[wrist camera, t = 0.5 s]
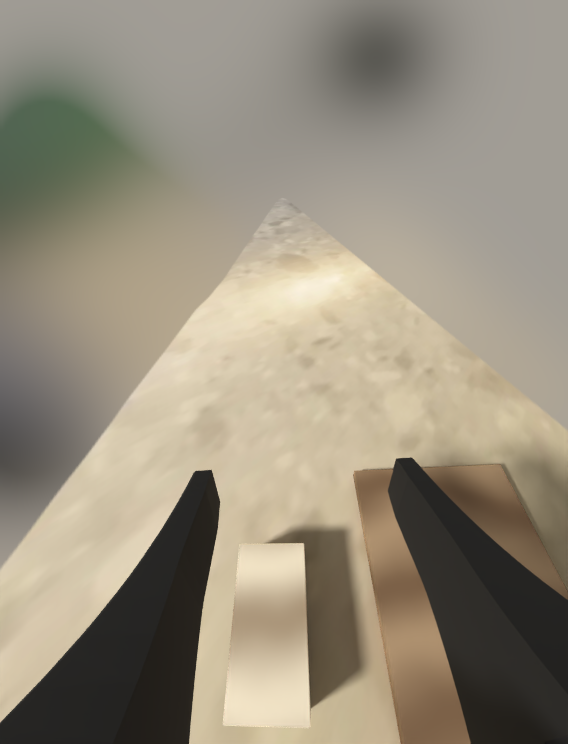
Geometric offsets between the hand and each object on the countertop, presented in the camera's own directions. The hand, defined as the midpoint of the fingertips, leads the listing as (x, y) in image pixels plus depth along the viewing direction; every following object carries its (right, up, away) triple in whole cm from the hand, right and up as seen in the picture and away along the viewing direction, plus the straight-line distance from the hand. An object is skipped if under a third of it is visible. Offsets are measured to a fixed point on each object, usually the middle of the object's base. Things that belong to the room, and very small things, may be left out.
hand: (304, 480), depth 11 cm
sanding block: (-1, -15, +11) cm, 19 cm away
